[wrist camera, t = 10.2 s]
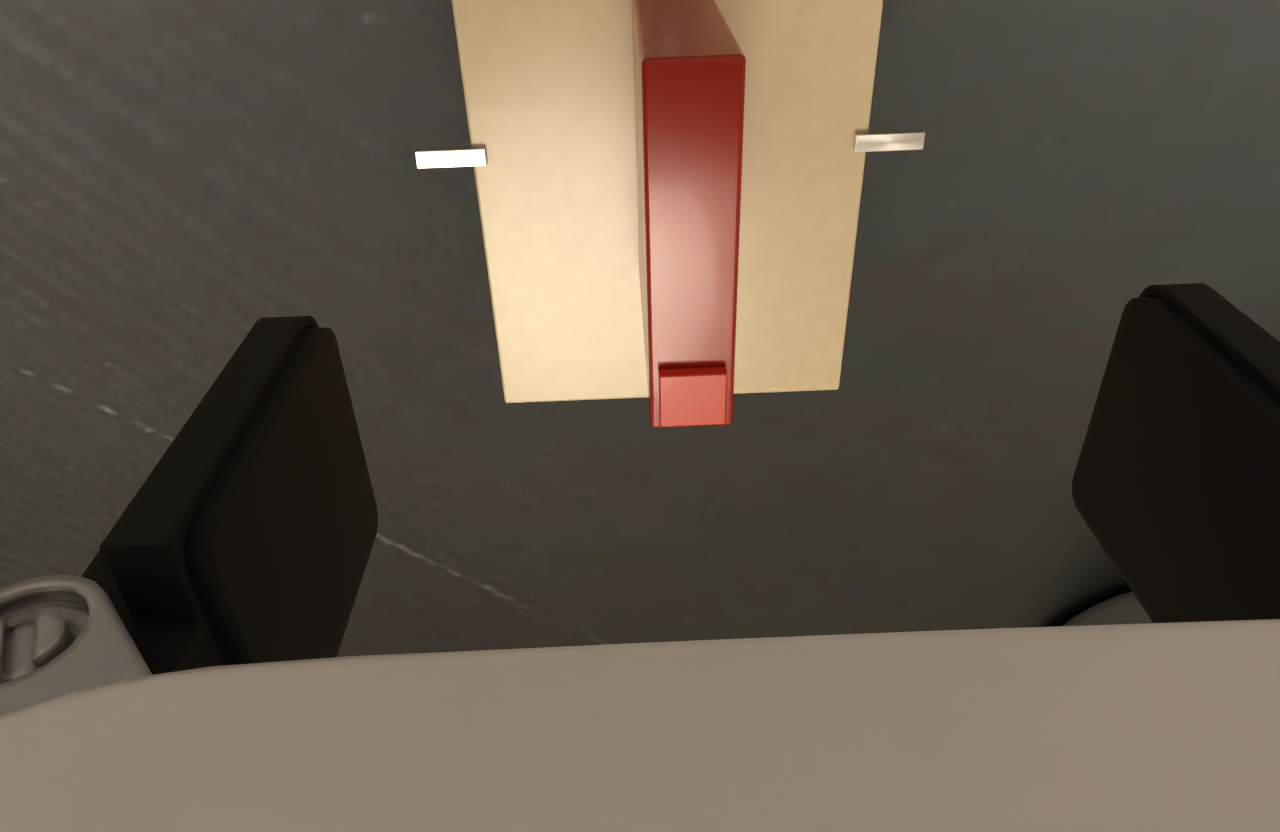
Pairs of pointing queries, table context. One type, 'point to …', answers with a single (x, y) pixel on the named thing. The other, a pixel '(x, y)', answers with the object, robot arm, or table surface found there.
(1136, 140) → the table surface
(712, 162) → the glossy red slab
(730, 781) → the robot arm
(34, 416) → the table surface
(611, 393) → the tan slotted block stand
